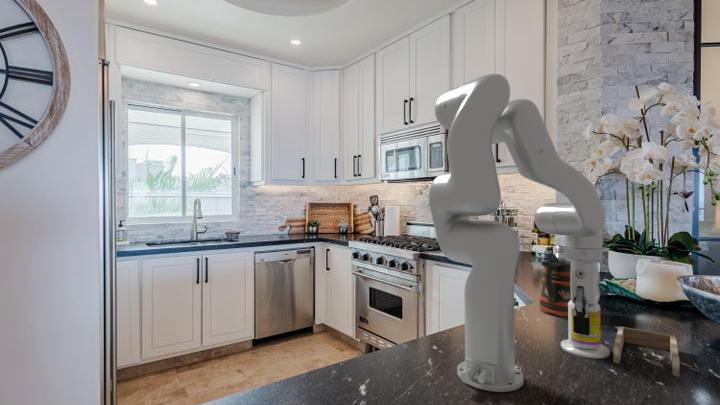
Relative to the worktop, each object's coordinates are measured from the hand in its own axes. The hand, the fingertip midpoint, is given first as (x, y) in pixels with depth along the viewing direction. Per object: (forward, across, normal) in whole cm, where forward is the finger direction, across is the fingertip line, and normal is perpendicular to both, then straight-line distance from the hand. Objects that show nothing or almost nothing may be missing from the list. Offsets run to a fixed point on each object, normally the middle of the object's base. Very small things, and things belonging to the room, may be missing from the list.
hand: (583, 328), depth 88 cm
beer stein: (+5, +30, +10) cm, 32 cm away
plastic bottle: (+5, +46, +13) cm, 48 cm away
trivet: (+5, 0, 0) cm, 5 cm away
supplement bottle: (+4, 0, 0) cm, 4 cm away
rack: (+5, +5, -12) cm, 13 cm away
